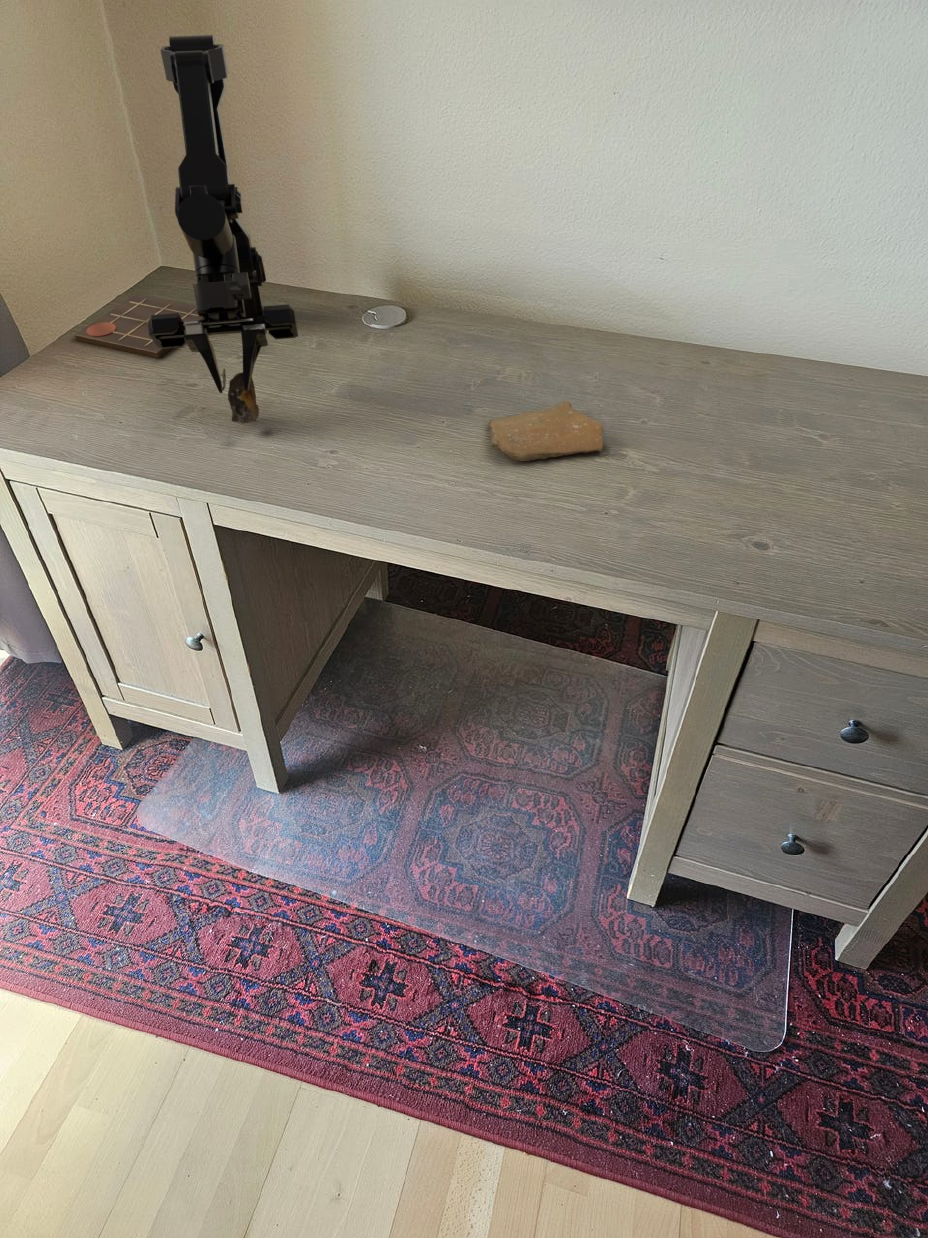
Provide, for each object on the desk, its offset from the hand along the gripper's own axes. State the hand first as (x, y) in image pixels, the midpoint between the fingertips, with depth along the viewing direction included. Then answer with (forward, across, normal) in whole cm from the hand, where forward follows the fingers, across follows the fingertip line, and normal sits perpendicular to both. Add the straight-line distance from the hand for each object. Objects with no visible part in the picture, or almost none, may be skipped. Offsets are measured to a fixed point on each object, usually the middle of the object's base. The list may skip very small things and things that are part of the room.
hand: (233, 391), depth 111 cm
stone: (+11, +41, -1) cm, 43 cm away
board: (-20, -16, +30) cm, 39 cm away
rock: (+4, 0, +6) cm, 7 cm away
